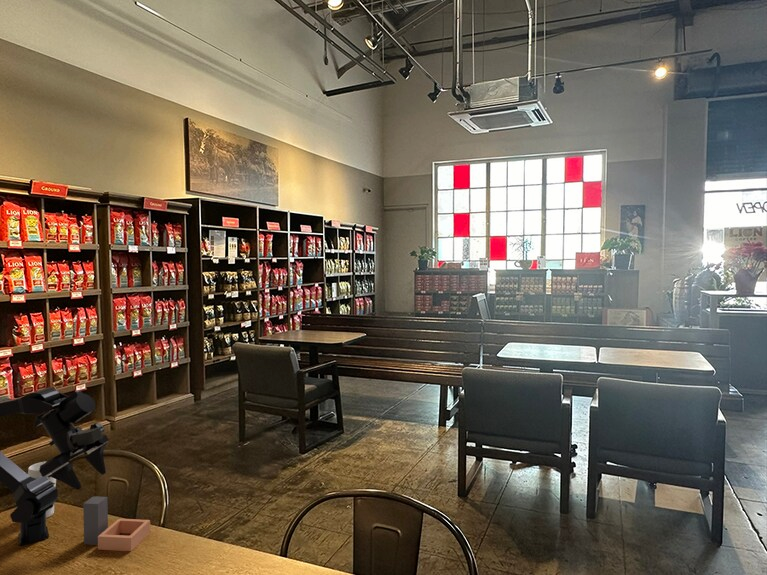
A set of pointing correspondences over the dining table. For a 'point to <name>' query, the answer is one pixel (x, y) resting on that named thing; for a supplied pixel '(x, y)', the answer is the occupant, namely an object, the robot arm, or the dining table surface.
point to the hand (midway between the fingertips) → (92, 481)
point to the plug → (95, 518)
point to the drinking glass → (34, 473)
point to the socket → (121, 542)
